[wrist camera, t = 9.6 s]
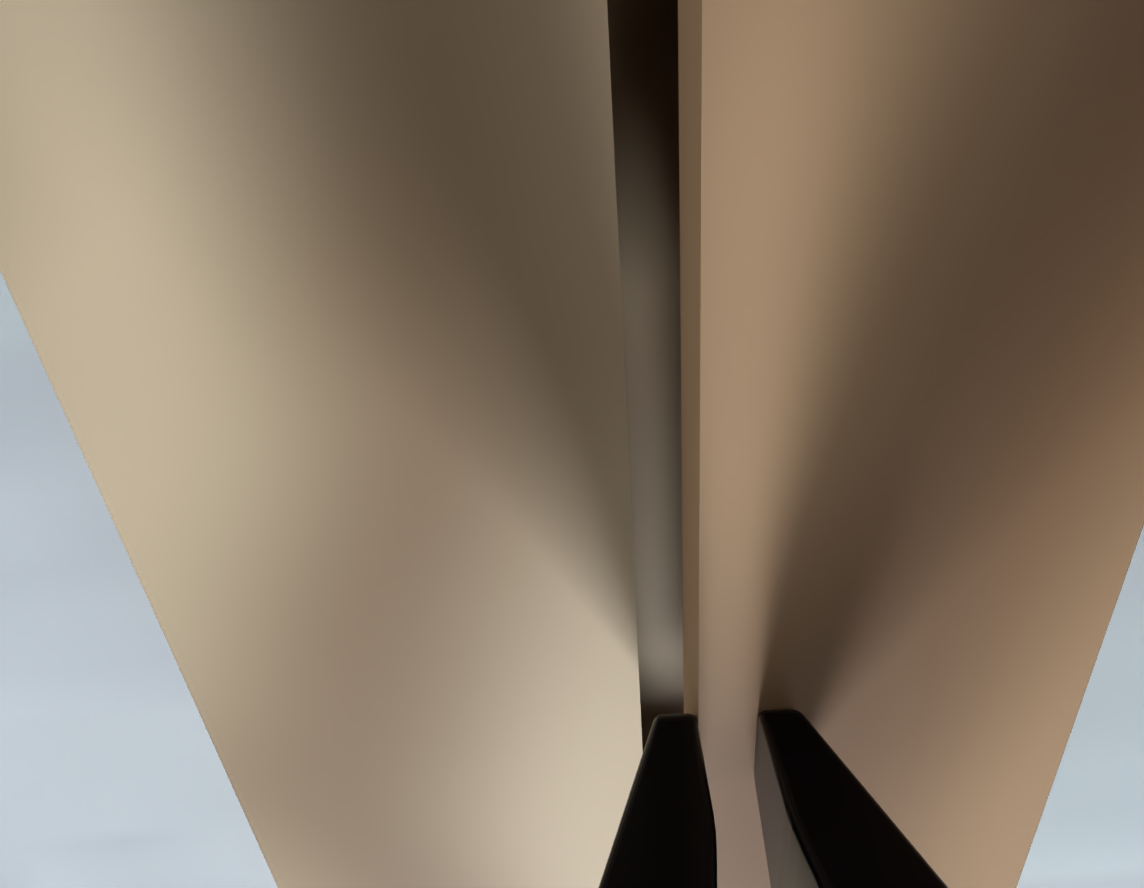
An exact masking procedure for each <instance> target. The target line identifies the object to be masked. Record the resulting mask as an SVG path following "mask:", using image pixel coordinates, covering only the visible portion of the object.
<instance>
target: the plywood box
mask: <svg viewBox="0 0 1144 888" xmlns="http://www.w3.org/2000/svg"><path fill="white" fill-rule="evenodd" d="M0 271H1V273H2V275H3V278H4V280H5V282H6V284H7V287H8V289H9V291H10V293H11V295H12V298H13V300H14V302H15V304H16V307H17V309H18V311H19V313H20V315H21V318H22V320H23V322H24V324H25V327H26V329H27V331H28V333H29V335H30V338H31V340H32V342H33V344H34V347H35V349H36V351H37V353H38V355H39V358H40V360H41V362H42V364H43V367H44V369H45V371H46V373H47V375H48V378H49V380H50V382H51V384H52V387H53V389H54V391H55V393H56V395H57V398H58V400H59V402H60V404H61V407H62V409H63V411H64V413H65V415H66V418H67V420H68V422H69V424H70V427H71V429H72V431H73V433H74V435H75V438H76V440H77V442H78V444H79V447H80V449H81V451H82V453H83V455H84V458H85V460H86V462H87V464H88V467H89V469H90V471H91V473H92V475H93V478H94V480H95V482H96V484H97V487H98V489H99V491H100V493H101V495H102V498H103V500H104V502H105V504H106V507H107V509H108V511H109V513H110V515H111V518H112V520H113V522H114V524H115V527H116V529H117V531H118V533H119V535H120V538H121V540H122V542H123V544H124V547H125V549H126V551H127V553H128V555H129V558H130V560H131V562H132V564H133V567H134V569H135V571H136V573H137V575H138V578H139V580H140V582H141V584H142V587H143V589H144V591H145V593H146V595H147V598H148V600H149V602H150V604H151V607H152V609H153V611H154V613H155V615H156V618H157V620H158V622H159V624H160V627H161V629H162V631H163V633H164V635H165V638H166V640H167V642H168V644H169V647H170V649H171V651H172V653H173V655H174V658H175V660H176V662H177V664H178V667H179V669H180V671H181V673H182V675H183V678H184V680H185V682H186V684H187V687H188V689H189V691H190V693H191V695H192V698H193V700H194V702H195V704H196V707H197V709H198V711H199V713H200V715H201V718H202V720H203V722H204V724H205V727H206V729H207V731H208V733H209V735H210V738H211V740H212V742H213V744H214V747H215V749H216V751H217V753H218V755H219V758H220V760H221V762H222V764H223V767H224V769H225V771H226V773H227V775H228V778H229V780H230V782H231V784H232V787H233V789H234V791H235V793H236V795H237V798H238V800H239V802H240V804H241V807H242V809H243V811H244V813H245V815H246V818H247V820H248V822H249V824H250V827H251V829H252V831H253V833H254V835H255V838H256V840H257V842H258V844H259V847H260V849H261V851H262V853H263V855H264V858H265V860H266V862H267V864H268V867H269V869H270V871H271V873H272V875H273V878H274V880H275V882H276V884H277V887H278V888H599V885H600V882H601V879H602V876H603V873H604V870H605V867H606V863H607V860H608V857H609V854H610V851H611V848H612V845H613V842H614V839H615V836H616V833H617V830H618V827H619V824H620V821H621V818H622V815H623V812H624V809H625V806H626V803H627V800H628V797H629V793H630V790H631V787H632V784H633V781H634V778H635V775H636V772H637V769H638V766H639V763H640V760H641V757H642V754H643V751H644V748H645V745H646V742H647V739H648V736H649V733H650V730H651V726H652V724H653V721H654V719H655V718H656V717H657V716H658V715H661V714H683V713H684V681H683V559H682V437H681V315H680V193H679V71H678V0H0Z"/></svg>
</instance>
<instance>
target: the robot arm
mask: <svg viewBox="0 0 1144 888" xmlns="http://www.w3.org/2000/svg"><path fill="white" fill-rule="evenodd" d="M754 779H755V787H756V794H757V800H758V807H759V813H760V820H761V826H762V833H763V839H764V846H765V852H766V859H767V865H768V872H769V878H770V885H771V888H948V887H947V886H946V884H945V883H944V882H943V881H942V880H941V878H940V877H939V876H938V875H937V874H936V872H935V871H934V870H933V869H932V868H931V866H930V865H929V864H928V863H927V862H926V860H925V859H924V858H923V857H922V856H921V854H920V853H919V852H918V851H917V850H916V848H915V847H914V846H913V845H912V844H911V842H910V841H909V840H908V839H907V838H906V836H905V835H904V834H903V833H902V832H901V831H900V829H899V828H898V827H897V826H896V825H895V823H894V822H893V821H892V820H891V819H890V817H889V816H888V815H887V814H886V813H885V811H884V810H883V809H882V808H881V807H880V805H879V804H878V803H877V802H876V801H875V799H874V798H873V797H872V796H871V795H870V793H869V792H868V791H867V790H866V789H865V787H864V786H863V785H862V784H861V783H860V781H859V780H858V779H857V778H856V777H855V776H854V774H853V773H852V772H851V771H850V770H849V768H848V767H847V766H846V765H845V764H844V762H843V761H842V760H841V759H840V758H839V756H838V755H837V754H836V753H835V752H834V750H833V749H832V748H831V747H830V746H829V744H828V743H827V742H826V741H825V740H824V738H823V737H822V736H821V735H820V734H819V732H818V731H817V730H816V729H815V728H814V726H813V725H812V724H811V723H810V722H809V721H808V719H807V718H806V717H805V716H804V715H803V714H802V713H801V712H800V711H798V710H795V709H779V710H764V711H762V712H760V713H759V715H758V717H757V729H756V746H755V763H754ZM599 888H717V841H716V827H715V820H714V812H713V807H712V801H711V795H710V790H709V784H708V779H707V773H706V768H705V762H704V757H703V751H702V746H701V740H700V734H699V729H698V724H697V720H696V718H695V716H694V715H692V714H689V713H683V714H661V715H658V716H657V717H656V718H655V719H654V721H653V724H652V726H651V730H650V733H649V736H648V739H647V742H646V745H645V748H644V751H643V754H642V757H641V760H640V763H639V766H638V769H637V772H636V775H635V778H634V781H633V784H632V787H631V790H630V793H629V797H628V800H627V803H626V806H625V809H624V812H623V815H622V818H621V821H620V824H619V827H618V830H617V833H616V836H615V839H614V842H613V845H612V848H611V851H610V854H609V857H608V860H607V863H606V867H605V870H604V873H603V876H602V879H601V882H600V885H599Z"/></svg>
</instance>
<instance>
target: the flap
mask: <svg viewBox="0 0 1144 888" xmlns="http://www.w3.org/2000/svg"><path fill="white" fill-rule="evenodd" d="M678 71H679V193H680V315H681V437H682V559H683V681H684V713H689V714H692V715H694V716H695V718H696V720H697V724H698V729H699V734H700V740H701V746H702V751H703V757H704V762H705V768H706V773H707V779H708V784H709V790H710V795H711V801H712V807H713V812H714V820H715V827H716V841H717V888H771V885H770V878H769V872H768V865H767V859H766V852H765V846H764V839H763V833H762V826H761V820H760V813H759V807H758V800H757V794H756V787H755V779H754V763H755V746H756V729H757V717H758V715H759V713H760V712H762V711H764V710H779V709H795V710H798V711H800V712H801V713H802V714H803V715H804V716H805V717H806V718H807V719H808V721H809V722H810V723H811V724H812V725H813V726H814V728H815V729H816V730H817V731H818V732H819V734H820V735H821V736H822V737H823V738H824V740H825V741H826V742H827V743H828V744H829V746H830V747H831V748H832V749H833V750H834V752H835V753H836V754H837V755H838V756H839V758H840V759H841V760H842V761H843V762H844V764H845V765H846V766H847V767H848V768H849V770H850V771H851V772H852V773H853V774H854V776H855V777H856V778H857V779H858V780H859V781H860V783H861V784H862V785H863V786H864V787H865V789H866V790H867V791H868V792H869V793H870V795H871V796H872V797H873V798H874V799H875V801H876V802H877V803H878V804H879V805H880V807H881V808H882V809H883V810H884V811H885V813H886V814H887V815H888V816H889V817H890V819H891V820H892V821H893V822H894V823H895V825H896V826H897V827H898V828H899V829H900V831H901V832H902V833H903V834H904V835H905V836H906V838H907V839H908V840H909V841H910V842H911V844H912V845H913V846H914V847H915V848H916V850H917V851H918V852H919V853H920V854H921V856H922V857H923V858H924V859H925V860H926V862H927V863H928V864H929V865H930V866H931V868H932V869H933V870H934V871H935V872H936V874H937V875H938V876H939V877H940V878H941V880H942V881H943V882H944V883H945V884H946V886H947V887H948V888H1016V887H1017V884H1018V881H1019V878H1020V875H1021V873H1022V870H1023V867H1024V864H1025V861H1026V858H1027V855H1028V853H1029V850H1030V847H1031V844H1032V841H1033V838H1034V836H1035V833H1036V830H1037V827H1038V824H1039V821H1040V818H1041V816H1042V813H1043V810H1044V807H1045V804H1046V801H1047V799H1048V796H1049V793H1050V790H1051V787H1052V784H1053V781H1054V779H1055V776H1056V773H1057V770H1058V767H1059V764H1060V761H1061V759H1062V756H1063V753H1064V750H1065V747H1066V744H1067V742H1068V739H1069V736H1070V733H1071V730H1072V727H1073V724H1074V722H1075V719H1076V716H1077V713H1078V710H1079V707H1080V704H1081V702H1082V699H1083V696H1084V693H1085V690H1086V687H1087V685H1088V682H1089V679H1090V676H1091V673H1092V670H1093V667H1094V665H1095V662H1096V659H1097V656H1098V653H1099V650H1100V648H1101V645H1102V642H1103V639H1104V636H1105V633H1106V630H1107V628H1108V625H1109V622H1110V619H1111V616H1112V613H1113V610H1114V608H1115V605H1116V602H1117V599H1118V596H1119V593H1120V591H1121V588H1122V585H1123V582H1124V579H1125V576H1126V573H1127V571H1128V568H1129V565H1130V562H1131V559H1132V556H1133V553H1134V551H1135V548H1136V545H1137V542H1138V539H1139V536H1140V534H1141V531H1142V528H1143V525H1144V0H678Z"/></svg>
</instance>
